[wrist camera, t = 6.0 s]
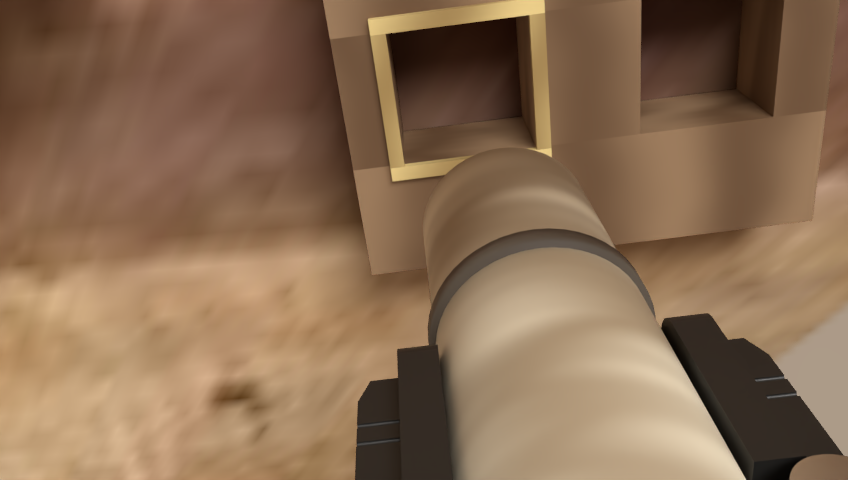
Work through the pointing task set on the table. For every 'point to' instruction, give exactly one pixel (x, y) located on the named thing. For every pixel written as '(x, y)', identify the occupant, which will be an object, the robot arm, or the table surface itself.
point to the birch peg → (552, 337)
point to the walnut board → (596, 119)
